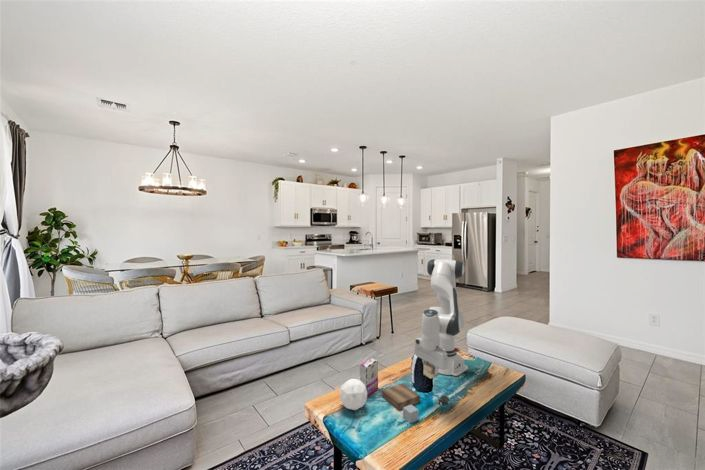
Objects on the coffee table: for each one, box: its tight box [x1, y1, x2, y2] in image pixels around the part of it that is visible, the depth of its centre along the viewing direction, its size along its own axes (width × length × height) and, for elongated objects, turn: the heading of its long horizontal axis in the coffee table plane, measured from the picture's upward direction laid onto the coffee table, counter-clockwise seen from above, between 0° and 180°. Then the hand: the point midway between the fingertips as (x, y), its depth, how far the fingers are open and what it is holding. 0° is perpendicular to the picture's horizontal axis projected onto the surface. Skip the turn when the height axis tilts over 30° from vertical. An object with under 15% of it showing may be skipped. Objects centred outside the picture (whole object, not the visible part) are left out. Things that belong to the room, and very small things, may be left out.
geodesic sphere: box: [339, 378, 368, 411], centre depth 149 cm, size 15×14×14 cm
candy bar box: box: [359, 357, 379, 398], centre depth 165 cm, size 11×5×16 cm, turn 143°
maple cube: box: [422, 362, 439, 379], centre depth 149 cm, size 5×5×5 cm
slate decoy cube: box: [402, 405, 419, 424], centre depth 141 cm, size 5×5×5 cm
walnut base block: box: [381, 383, 421, 411], centre depth 157 cm, size 14×14×4 cm
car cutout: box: [437, 395, 464, 407], centre depth 155 cm, size 15×7×4 cm, turn 108°
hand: (430, 371), depth 149 cm, fingers closed on maple cube, 5 cm apart
